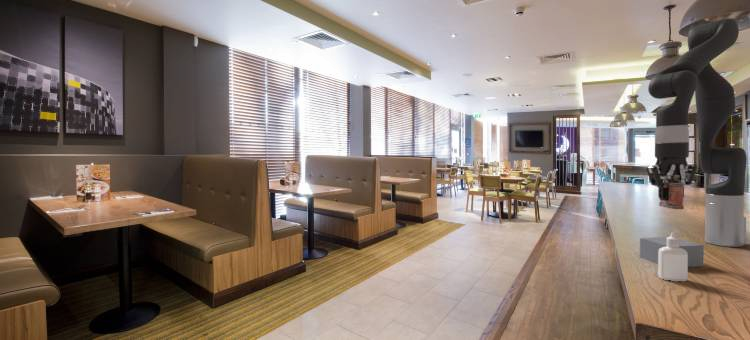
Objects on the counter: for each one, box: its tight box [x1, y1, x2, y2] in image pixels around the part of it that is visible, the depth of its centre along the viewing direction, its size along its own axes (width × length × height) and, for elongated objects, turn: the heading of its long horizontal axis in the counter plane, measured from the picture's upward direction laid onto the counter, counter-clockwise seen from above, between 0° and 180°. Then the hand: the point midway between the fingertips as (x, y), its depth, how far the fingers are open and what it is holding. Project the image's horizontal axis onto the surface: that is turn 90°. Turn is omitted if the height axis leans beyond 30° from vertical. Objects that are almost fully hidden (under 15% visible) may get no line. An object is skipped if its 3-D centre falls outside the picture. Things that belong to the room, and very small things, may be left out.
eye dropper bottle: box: [657, 232, 689, 282], centre depth 86 cm, size 4×6×12 cm
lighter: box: [658, 174, 684, 210], centre depth 99 cm, size 8×3×10 cm, turn 168°
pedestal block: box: [639, 236, 705, 268], centre depth 100 cm, size 10×10×6 cm
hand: (670, 199), depth 100 cm, fingers closed on lighter, 4 cm apart
